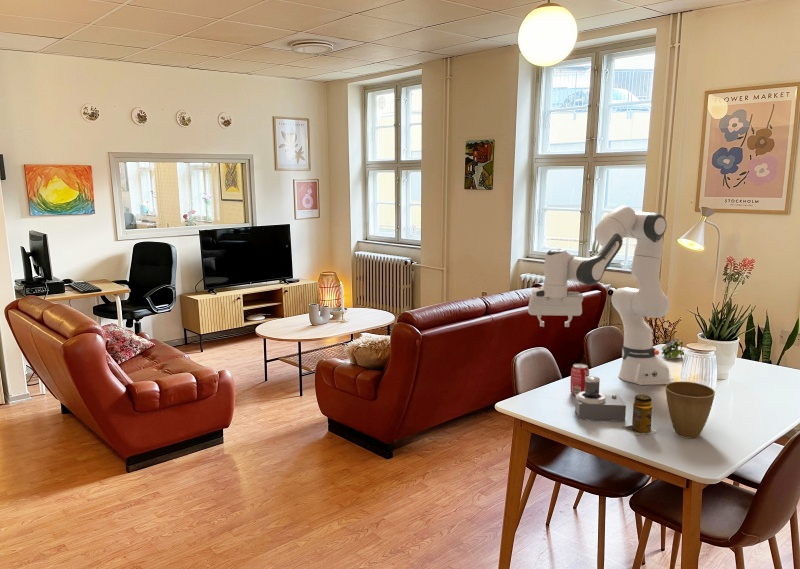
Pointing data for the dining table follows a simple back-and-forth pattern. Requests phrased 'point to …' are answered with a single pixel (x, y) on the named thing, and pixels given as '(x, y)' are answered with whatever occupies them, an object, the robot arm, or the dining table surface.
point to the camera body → (600, 407)
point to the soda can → (578, 378)
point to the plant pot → (689, 407)
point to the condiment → (641, 416)
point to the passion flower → (668, 349)
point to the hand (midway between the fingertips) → (554, 326)
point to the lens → (592, 387)
